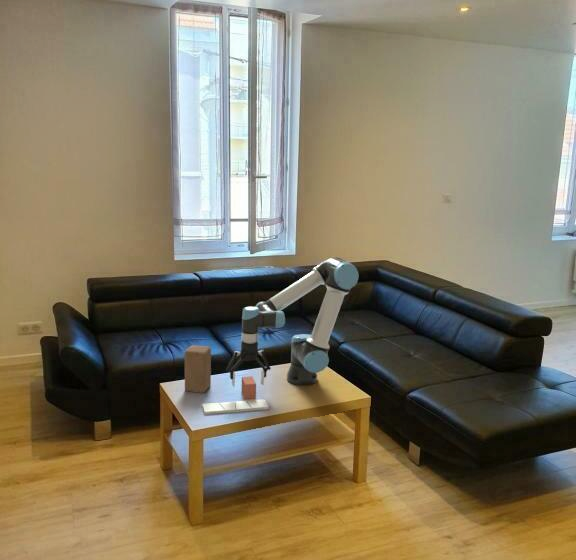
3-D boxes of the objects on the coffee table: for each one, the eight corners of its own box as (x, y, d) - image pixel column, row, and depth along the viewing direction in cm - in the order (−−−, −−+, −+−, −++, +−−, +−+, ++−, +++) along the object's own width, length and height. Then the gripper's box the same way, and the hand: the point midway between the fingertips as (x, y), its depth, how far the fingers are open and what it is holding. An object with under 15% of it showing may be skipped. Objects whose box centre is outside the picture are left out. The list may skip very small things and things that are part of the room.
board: (264, 401, 263) (264, 399, 262) (268, 409, 255) (268, 406, 255) (202, 406, 256) (202, 403, 255) (204, 414, 248) (204, 411, 248)
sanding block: (251, 392, 273) (252, 376, 271) (255, 400, 264) (256, 383, 262) (241, 392, 271) (241, 376, 270) (245, 401, 263) (245, 384, 261)
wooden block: (204, 393, 269) (204, 353, 264) (183, 391, 271) (183, 351, 266) (211, 385, 278) (211, 346, 274) (191, 383, 280) (191, 344, 276)
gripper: (274, 337, 268) (272, 380, 273) (221, 339, 262) (219, 382, 267) (278, 342, 261) (276, 386, 266) (223, 344, 255) (222, 389, 260)
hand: (247, 384), depth 266 cm, fingers open, 13 cm apart
